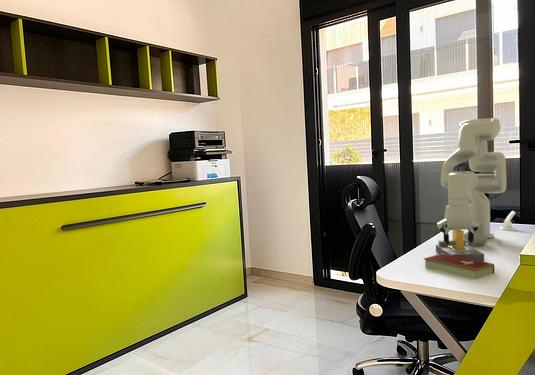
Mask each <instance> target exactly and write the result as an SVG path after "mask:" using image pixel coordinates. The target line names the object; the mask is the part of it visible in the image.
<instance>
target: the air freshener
mask: <svg viewBox="0 0 535 375" xmlns="http://www.w3.org/2000/svg"><path fill="white" fill-rule="evenodd" d="M474 226H475V223H473V222H472V228H473V227H474ZM468 232H469V231H468V230H467V232H464V240H465V241H466V244H467V245H469V246H484V245H485V244H487V243H488V238H487V236H486V234H485V233H483V232H482V223H480V225H479V227H478V229H477V230H476V231H475V233H474V240H473V243H470V242H468Z"/></svg>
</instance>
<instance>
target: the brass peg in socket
mask: <svg viewBox="0 0 535 375" xmlns="http://www.w3.org/2000/svg"><path fill="white" fill-rule="evenodd" d="M464 234H465V232H464V230H463V229H461V230H452V240H453V248H454V249H456V250H459V249H464Z"/></svg>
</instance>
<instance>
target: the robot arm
mask: <svg viewBox="0 0 535 375" xmlns="http://www.w3.org/2000/svg"><path fill="white" fill-rule="evenodd" d="M458 128H459V133H458V138H457V144H456V150H455V151H454V152H453V153H452V154H450V155H449V156H448V157H447V159H446V160H445V161H444V163H443V165H442V167H441V168H442V169H441V174H440V184H441V186H442V187H443V188H445V189H447V191H448V192H447V193H448V194H447V196H448V197H447V199H448V200H447V201H448V204H447V205H445V208H444V209H445V211H444V218H443V219H442V220H440V221H439V222H437V223H436V225H437V227H438V229H439V230H440V232H442V234H443V240H444V241H445V243H447V244H449V240H450V234H449V232H451V230H467V232H468V231H469V232H468V242H470V243H473V240H474V233H475V231H476V230H477V229H478V227H479V225H480V223H482V232H483V233H485V234H486V236H487V239H493V238H494V236H495V235H494V233H491V201H490V199H489V198H488V197H487V196H486V195H485V194H503V193H504V192H506V190H507V162H506V161H507V160H506V156H505V155H504V153H503V152H500V151H492V152H491V151H489V150H488V149H489V148H488V141H493V140H494V139H496V137H498V135H499V134H500V131H501V122H500V120H499V119H498V118H495V117H490V118H489V117H488V118H475V119H473V118H472V119H466V120H463V121H461V122H459V125H458ZM467 161H468V166H469V169H470V171H469V170H465V171H463V170H458V171H457V170H453V171H452V169H453V168H454V167H456V166H458V165H460V164H462V163H465V162H467ZM476 172H478V173H476ZM482 172H483V173H482ZM484 172H485V173H484ZM486 172H487V173H486ZM488 172H490V173H488ZM492 172H493V173H492ZM472 222H473V223H475V226H474V227H473V228H472ZM443 225H444V227H445V228H443V227H442V226H443Z"/></svg>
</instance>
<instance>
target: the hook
mask: <svg viewBox="0 0 535 375" xmlns="http://www.w3.org/2000/svg"><path fill="white" fill-rule="evenodd" d="M515 215H516V212H515V211H514V210H511V211H510V213H508V215H507V216H506V218H505V219H504V221H503V225H500V227H499V230H500V231H506V232H507V231H509V232H510V231H511V232H513V231H516V230H517V228H516V227H515V226H514V225H513V223H512V222H511V220H512V219H513V217H514V216H515Z"/></svg>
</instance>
